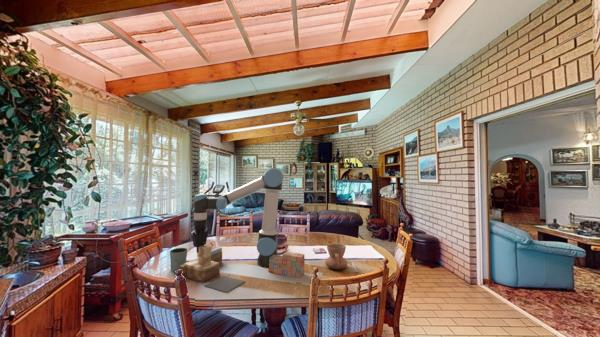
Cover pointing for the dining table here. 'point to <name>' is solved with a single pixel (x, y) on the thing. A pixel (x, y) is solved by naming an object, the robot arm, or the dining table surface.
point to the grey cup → (177, 258)
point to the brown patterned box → (287, 264)
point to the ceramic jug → (336, 256)
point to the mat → (225, 284)
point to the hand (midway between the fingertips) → (199, 257)
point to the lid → (202, 260)
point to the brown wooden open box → (203, 275)
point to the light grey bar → (216, 250)
